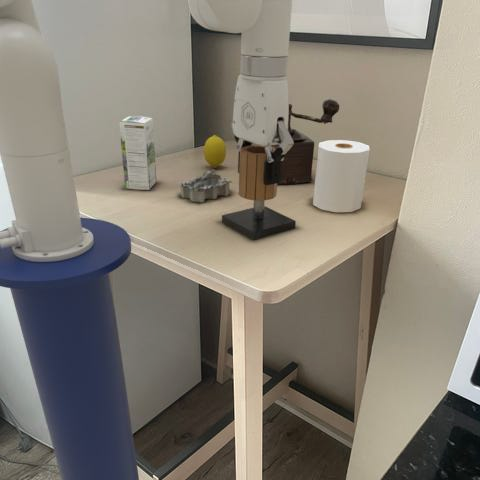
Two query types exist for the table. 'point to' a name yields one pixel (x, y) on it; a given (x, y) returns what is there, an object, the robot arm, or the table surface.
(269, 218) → the stand
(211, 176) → the metal cookie cutter
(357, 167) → the toilet paper
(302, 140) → the manual coffee grinder
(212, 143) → the lemon
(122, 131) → the syrup box
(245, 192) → the wooden bucket
